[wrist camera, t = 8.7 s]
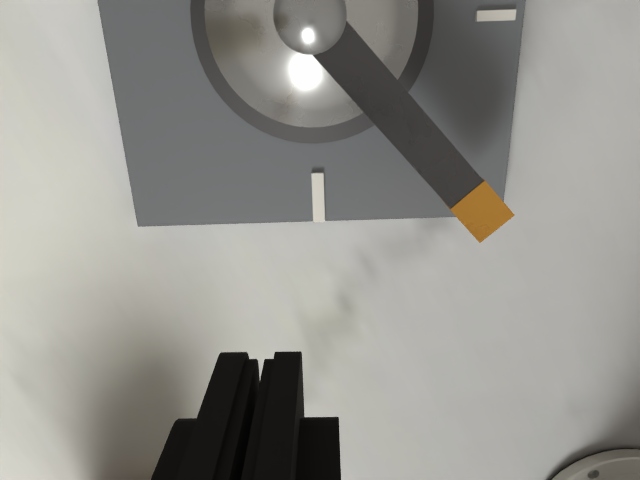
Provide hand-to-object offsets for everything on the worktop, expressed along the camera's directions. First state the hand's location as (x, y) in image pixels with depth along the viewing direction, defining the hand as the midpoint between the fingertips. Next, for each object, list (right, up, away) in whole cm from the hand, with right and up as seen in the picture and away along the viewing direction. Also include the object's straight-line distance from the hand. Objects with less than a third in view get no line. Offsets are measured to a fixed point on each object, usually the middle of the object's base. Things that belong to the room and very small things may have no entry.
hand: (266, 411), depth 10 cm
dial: (+4, +12, +16) cm, 20 cm away
